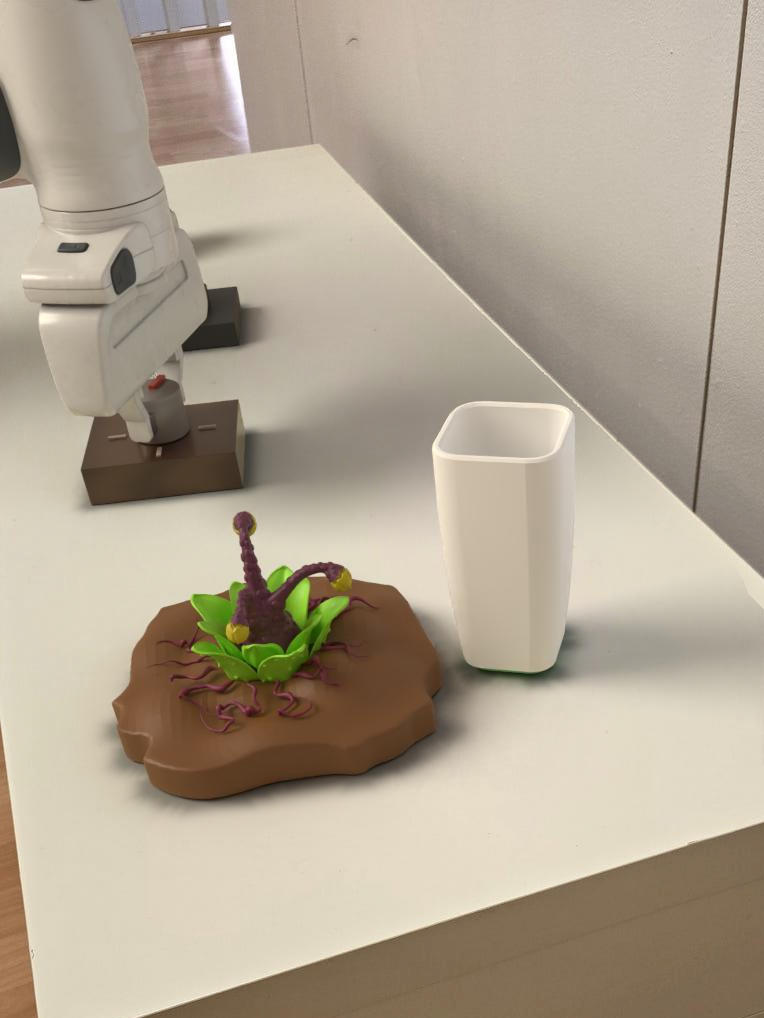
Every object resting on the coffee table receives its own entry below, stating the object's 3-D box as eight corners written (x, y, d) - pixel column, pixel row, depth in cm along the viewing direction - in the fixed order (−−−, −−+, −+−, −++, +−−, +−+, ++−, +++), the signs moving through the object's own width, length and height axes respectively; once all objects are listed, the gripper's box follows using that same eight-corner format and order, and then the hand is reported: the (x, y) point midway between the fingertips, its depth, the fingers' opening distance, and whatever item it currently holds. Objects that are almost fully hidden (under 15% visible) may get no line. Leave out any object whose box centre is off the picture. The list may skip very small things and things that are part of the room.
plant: (417, 586, 84) (400, 431, 77) (463, 761, 70) (447, 593, 63) (127, 628, 83) (79, 474, 75) (114, 816, 69) (54, 651, 61)
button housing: (115, 358, 118) (103, 316, 115) (124, 320, 125) (113, 280, 122) (239, 345, 118) (230, 302, 116) (241, 308, 125) (233, 267, 123)
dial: (176, 446, 96) (164, 398, 93) (125, 443, 97) (112, 396, 94) (198, 421, 99) (187, 375, 96) (148, 419, 100) (136, 373, 97)
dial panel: (91, 505, 96) (79, 467, 94) (104, 449, 103) (93, 413, 101) (243, 487, 97) (235, 450, 94) (245, 433, 104) (238, 397, 102)
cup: (581, 624, 80) (579, 403, 70) (561, 690, 75) (556, 462, 64) (473, 616, 81) (456, 399, 71) (446, 680, 76) (424, 456, 66)
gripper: (130, 193, 96) (172, 368, 105) (7, 287, 81) (68, 480, 91) (205, 192, 94) (240, 370, 104) (93, 288, 80) (146, 483, 90)
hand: (159, 422), depth 97 cm, fingers closed on dial, 4 cm apart
